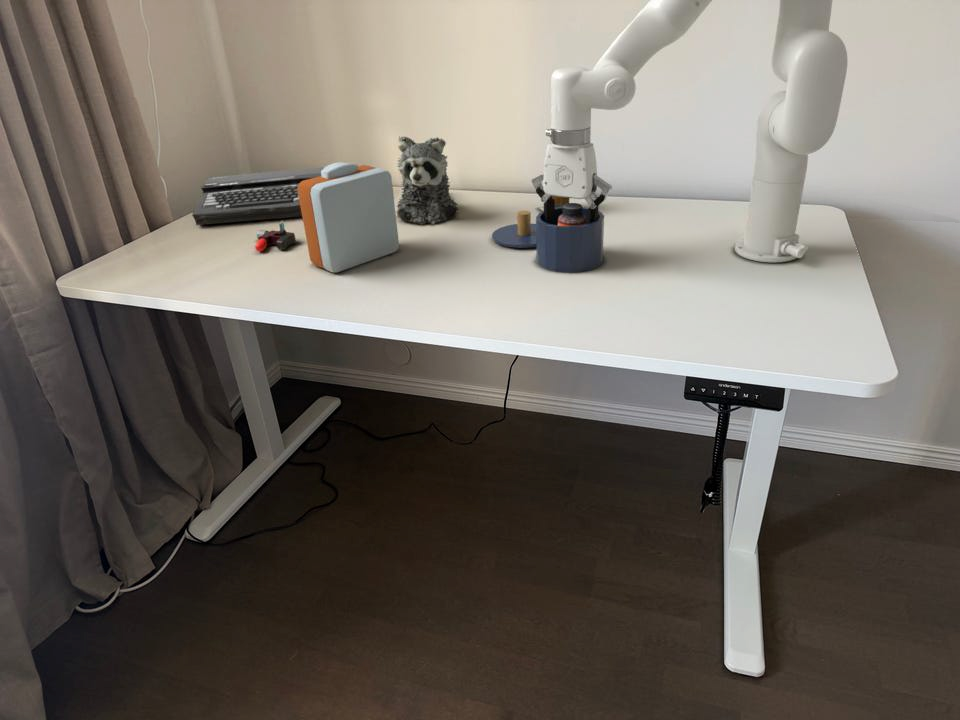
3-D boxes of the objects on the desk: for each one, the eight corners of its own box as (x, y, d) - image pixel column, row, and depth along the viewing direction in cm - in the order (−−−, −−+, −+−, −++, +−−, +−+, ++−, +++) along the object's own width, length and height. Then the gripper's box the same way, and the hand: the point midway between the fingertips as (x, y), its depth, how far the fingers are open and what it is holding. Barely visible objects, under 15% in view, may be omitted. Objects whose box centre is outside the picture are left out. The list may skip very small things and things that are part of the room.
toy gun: (262, 237, 170) (258, 218, 168) (302, 241, 165) (298, 222, 163) (235, 250, 162) (230, 230, 160) (276, 256, 158) (271, 235, 155)
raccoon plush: (403, 233, 167) (393, 143, 156) (387, 198, 194) (378, 120, 183) (464, 225, 169) (459, 137, 159) (441, 192, 196) (434, 114, 186)
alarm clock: (377, 242, 162) (366, 153, 152) (401, 250, 156) (390, 158, 146) (309, 266, 151) (292, 171, 141) (332, 275, 145) (316, 177, 135)
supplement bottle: (554, 262, 144) (554, 209, 139) (560, 252, 149) (560, 200, 144) (583, 264, 143) (584, 210, 137) (588, 253, 148) (589, 201, 142)
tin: (615, 263, 143) (617, 218, 139) (559, 277, 138) (560, 231, 134) (578, 244, 154) (578, 202, 150) (525, 257, 149) (524, 214, 144)
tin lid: (569, 241, 156) (569, 214, 153) (512, 254, 151) (511, 227, 148) (535, 224, 168) (535, 199, 165) (481, 236, 162) (479, 210, 159)
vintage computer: (194, 228, 177) (186, 197, 173) (214, 199, 202) (208, 172, 199) (362, 215, 182) (358, 184, 179) (361, 188, 208) (358, 161, 204)
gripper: (522, 138, 136) (524, 223, 144) (604, 144, 127) (601, 234, 135) (540, 130, 141) (542, 212, 149) (620, 135, 132) (617, 222, 141)
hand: (570, 222), depth 142 cm, fingers open, 9 cm apart
